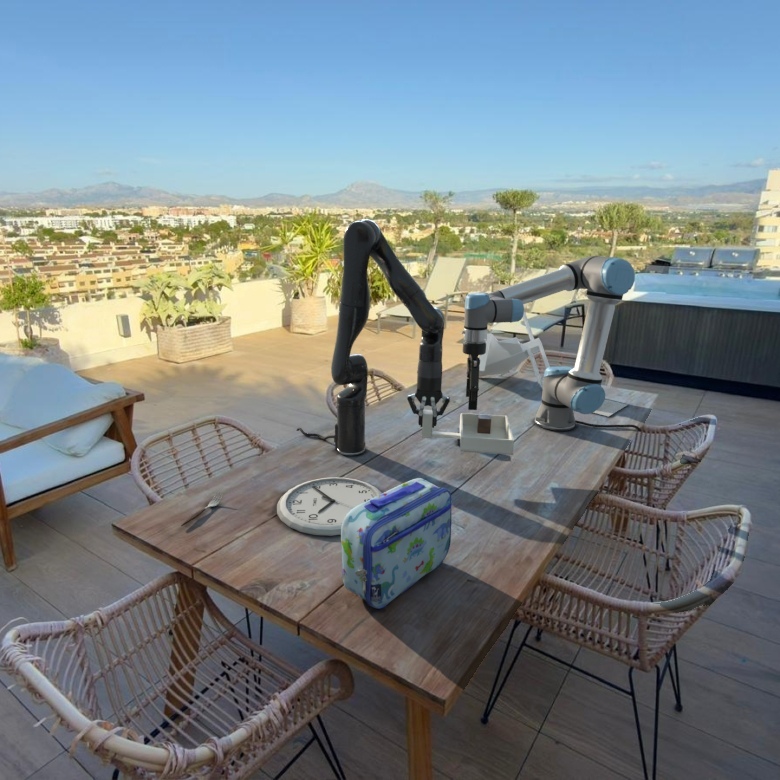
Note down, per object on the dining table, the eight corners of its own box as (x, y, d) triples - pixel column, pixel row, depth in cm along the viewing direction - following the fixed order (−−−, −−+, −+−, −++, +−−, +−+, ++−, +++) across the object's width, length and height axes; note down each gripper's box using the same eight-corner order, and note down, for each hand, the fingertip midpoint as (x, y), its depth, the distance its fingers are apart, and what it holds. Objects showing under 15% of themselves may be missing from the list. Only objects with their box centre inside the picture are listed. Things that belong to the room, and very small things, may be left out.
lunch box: (370, 622, 101) (370, 527, 94) (335, 595, 108) (333, 505, 102) (455, 565, 118) (460, 481, 112) (420, 544, 125) (423, 465, 119)
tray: (505, 428, 173) (508, 405, 171) (512, 454, 153) (515, 429, 151) (424, 423, 176) (425, 401, 174) (420, 448, 156) (421, 423, 153)
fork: (176, 526, 131) (176, 519, 130) (217, 497, 145) (217, 491, 145) (185, 528, 130) (184, 521, 130) (225, 499, 145) (224, 492, 144)
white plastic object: (489, 418, 267) (470, 395, 242) (471, 346, 289) (451, 318, 264) (561, 394, 254) (547, 368, 230) (535, 321, 277) (521, 289, 252)
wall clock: (392, 527, 129) (269, 531, 127) (392, 533, 130) (269, 537, 127) (383, 473, 158) (282, 475, 155) (383, 478, 158) (283, 480, 156)
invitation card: (608, 416, 214) (573, 407, 224) (608, 416, 214) (573, 407, 224) (627, 404, 229) (594, 396, 238) (627, 405, 229) (594, 397, 239)
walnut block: (489, 429, 170) (490, 414, 169) (490, 433, 167) (491, 419, 165) (476, 428, 171) (478, 414, 169) (477, 433, 167) (478, 418, 166)
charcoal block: (468, 441, 187) (469, 428, 186) (468, 446, 183) (469, 432, 182) (457, 440, 187) (458, 427, 186) (457, 445, 184) (458, 432, 182)
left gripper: (452, 371, 162) (449, 423, 168) (407, 369, 164) (406, 421, 169) (452, 378, 155) (449, 432, 161) (405, 376, 157) (404, 429, 162)
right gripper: (461, 333, 183) (458, 391, 189) (465, 349, 159) (461, 415, 166) (483, 334, 182) (479, 392, 189) (490, 350, 159) (485, 415, 165)
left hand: (427, 426), depth 165 cm, fingers closed on tray, 3 cm apart
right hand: (471, 402), depth 177 cm, fingers open, 13 cm apart
